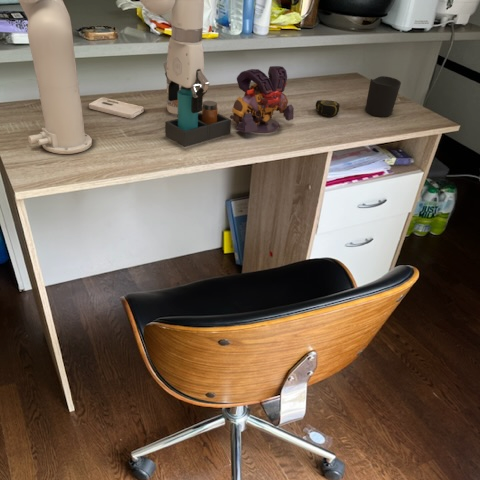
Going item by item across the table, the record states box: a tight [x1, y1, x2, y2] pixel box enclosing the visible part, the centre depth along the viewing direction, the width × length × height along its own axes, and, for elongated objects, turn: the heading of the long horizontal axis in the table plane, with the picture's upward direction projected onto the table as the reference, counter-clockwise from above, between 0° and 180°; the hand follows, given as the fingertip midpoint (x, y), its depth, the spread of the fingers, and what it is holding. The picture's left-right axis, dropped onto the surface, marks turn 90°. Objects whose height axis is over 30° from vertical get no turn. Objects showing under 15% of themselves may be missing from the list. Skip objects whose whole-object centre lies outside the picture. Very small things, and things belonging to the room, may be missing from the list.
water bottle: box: [177, 86, 199, 131], centre depth 140 cm, size 5×5×15 cm
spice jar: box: [201, 100, 219, 125], centre depth 147 cm, size 4×4×8 cm
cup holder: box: [164, 112, 232, 148], centre depth 146 cm, size 16×9×5 cm, turn 133°
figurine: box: [229, 65, 295, 134], centre depth 150 cm, size 20×14×17 cm
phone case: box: [88, 96, 145, 119], centre depth 158 cm, size 7×1×15 cm
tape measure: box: [315, 99, 341, 117], centre depth 167 cm, size 7×7×4 cm
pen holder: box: [364, 75, 402, 118], centre depth 169 cm, size 9×9×10 cm
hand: (184, 105), depth 139 cm, fingers open, 9 cm apart
